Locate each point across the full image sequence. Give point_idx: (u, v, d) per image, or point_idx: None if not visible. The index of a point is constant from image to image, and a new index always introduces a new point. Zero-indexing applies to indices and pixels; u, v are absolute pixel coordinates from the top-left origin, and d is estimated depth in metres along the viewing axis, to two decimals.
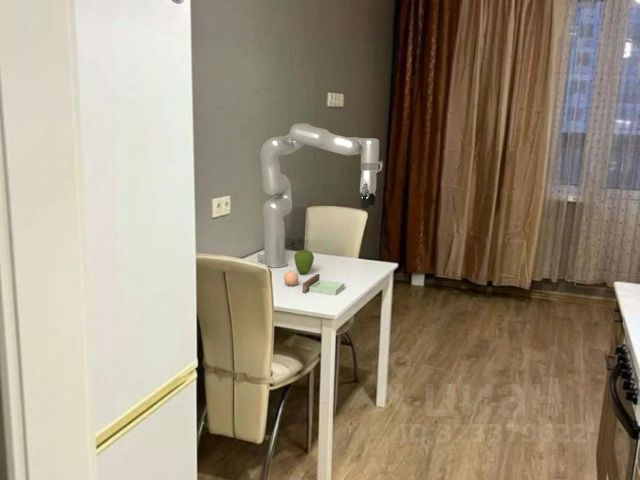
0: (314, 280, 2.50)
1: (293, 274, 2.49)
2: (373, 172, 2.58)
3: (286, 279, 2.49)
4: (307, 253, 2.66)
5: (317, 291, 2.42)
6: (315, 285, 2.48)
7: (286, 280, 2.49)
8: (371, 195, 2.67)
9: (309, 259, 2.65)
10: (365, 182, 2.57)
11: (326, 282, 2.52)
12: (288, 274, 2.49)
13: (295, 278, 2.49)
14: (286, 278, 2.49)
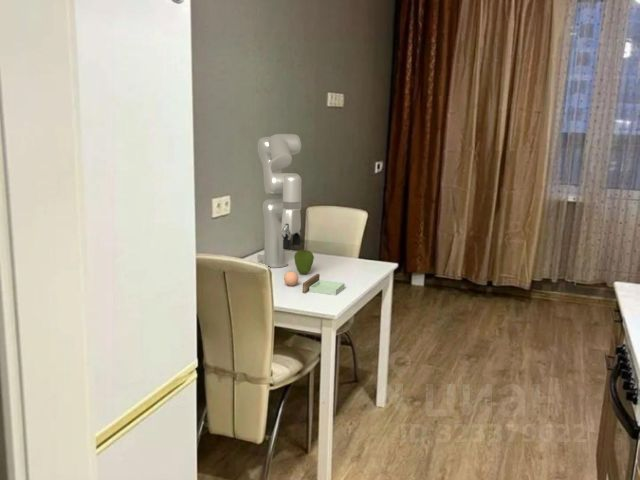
0: (314, 280, 2.50)
1: (293, 274, 2.49)
2: (295, 211, 2.43)
3: (286, 279, 2.49)
4: (307, 253, 2.66)
5: (317, 291, 2.42)
6: (315, 285, 2.48)
7: (286, 280, 2.49)
8: (296, 234, 2.52)
9: (309, 259, 2.65)
10: (286, 222, 2.42)
11: (326, 282, 2.52)
12: (288, 274, 2.49)
13: (295, 278, 2.49)
14: (286, 278, 2.49)
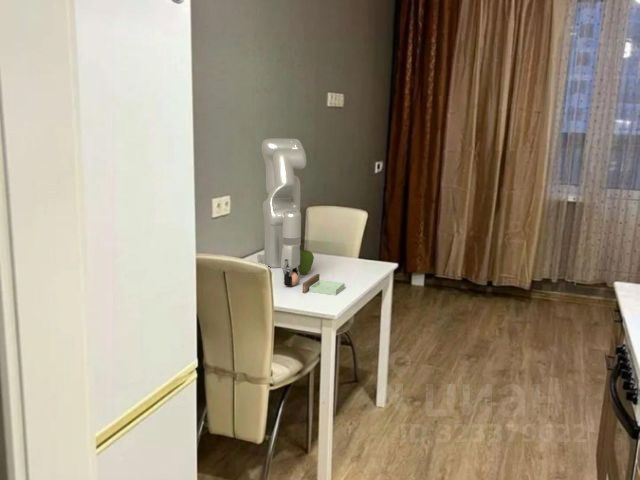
0: (314, 280, 2.50)
1: (293, 274, 2.49)
2: (295, 247, 2.46)
3: None
4: (307, 253, 2.66)
5: (317, 291, 2.42)
6: (315, 285, 2.48)
7: None
8: (294, 271, 2.54)
9: (309, 259, 2.65)
10: (286, 258, 2.45)
11: (326, 282, 2.52)
12: None
13: (295, 278, 2.49)
14: None
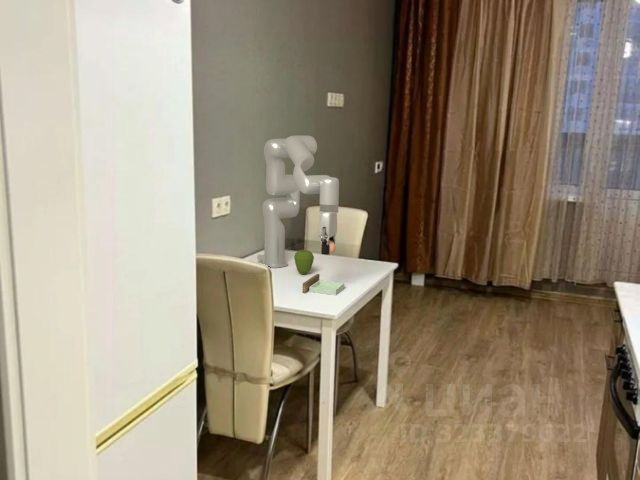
0: (314, 280, 2.50)
1: (330, 243, 2.41)
2: (332, 214, 2.38)
3: None
4: (307, 253, 2.66)
5: (317, 291, 2.42)
6: (315, 285, 2.48)
7: None
8: (331, 240, 2.45)
9: (309, 259, 2.65)
10: (323, 226, 2.36)
11: (326, 282, 2.52)
12: None
13: (333, 247, 2.41)
14: None
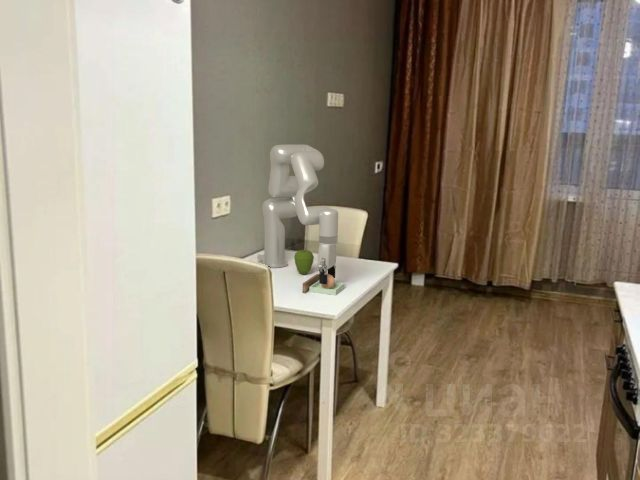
0: (314, 280, 2.50)
1: (330, 276, 2.44)
2: (332, 246, 2.40)
3: None
4: (307, 253, 2.66)
5: (317, 291, 2.42)
6: (315, 285, 2.48)
7: None
8: (331, 268, 2.49)
9: (309, 259, 2.65)
10: (323, 257, 2.39)
11: None
12: None
13: (332, 281, 2.44)
14: None
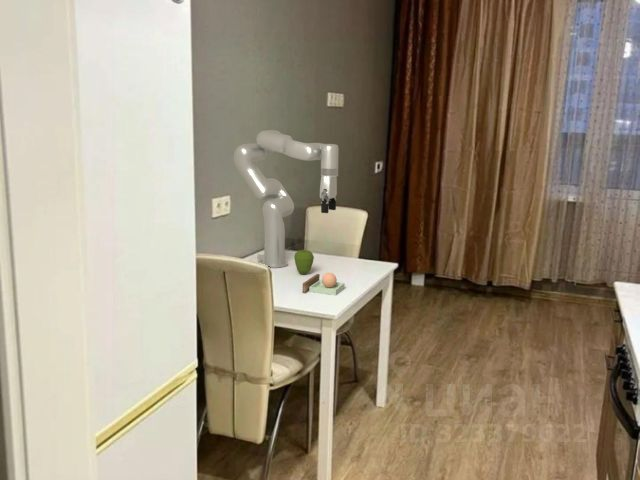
0: (314, 280, 2.50)
1: (333, 274, 2.48)
2: (332, 177, 2.61)
3: (325, 276, 2.46)
4: (307, 253, 2.66)
5: (317, 291, 2.42)
6: (315, 285, 2.48)
7: (325, 277, 2.46)
8: (332, 200, 2.70)
9: (309, 259, 2.65)
10: (324, 188, 2.60)
11: None
12: (328, 273, 2.48)
13: (334, 277, 2.46)
14: (326, 275, 2.46)
